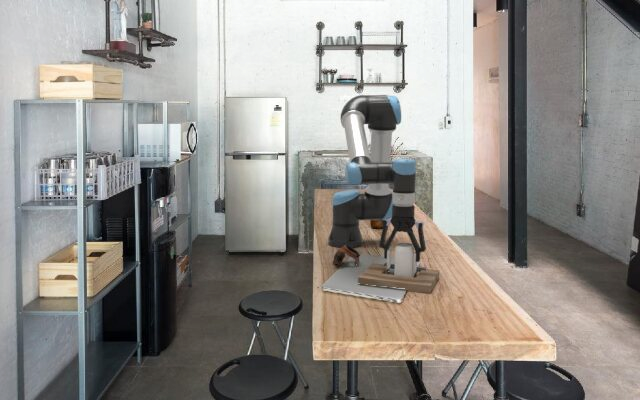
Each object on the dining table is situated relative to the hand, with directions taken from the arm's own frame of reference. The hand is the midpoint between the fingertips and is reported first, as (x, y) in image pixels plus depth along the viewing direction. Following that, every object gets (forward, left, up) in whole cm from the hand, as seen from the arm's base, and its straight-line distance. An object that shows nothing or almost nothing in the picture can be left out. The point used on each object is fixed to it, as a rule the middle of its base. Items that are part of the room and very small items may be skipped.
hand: (401, 269), depth 183 cm
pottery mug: (-9, -24, -4) cm, 26 cm away
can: (0, +1, -3) cm, 4 cm away
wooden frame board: (+3, 0, -3) cm, 4 cm away
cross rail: (-5, 0, -3) cm, 6 cm away
